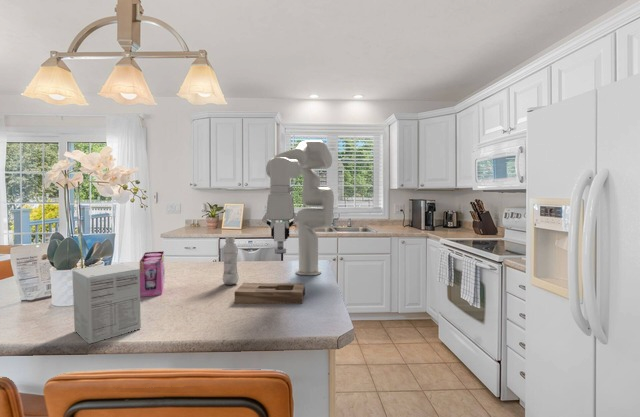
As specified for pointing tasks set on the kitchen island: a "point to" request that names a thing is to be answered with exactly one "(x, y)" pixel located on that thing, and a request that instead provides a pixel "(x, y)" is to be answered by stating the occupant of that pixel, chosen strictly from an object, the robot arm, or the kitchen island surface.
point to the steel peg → (279, 237)
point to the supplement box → (106, 301)
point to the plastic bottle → (230, 262)
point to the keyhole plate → (270, 293)
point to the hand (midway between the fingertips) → (280, 238)
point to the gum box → (152, 274)
